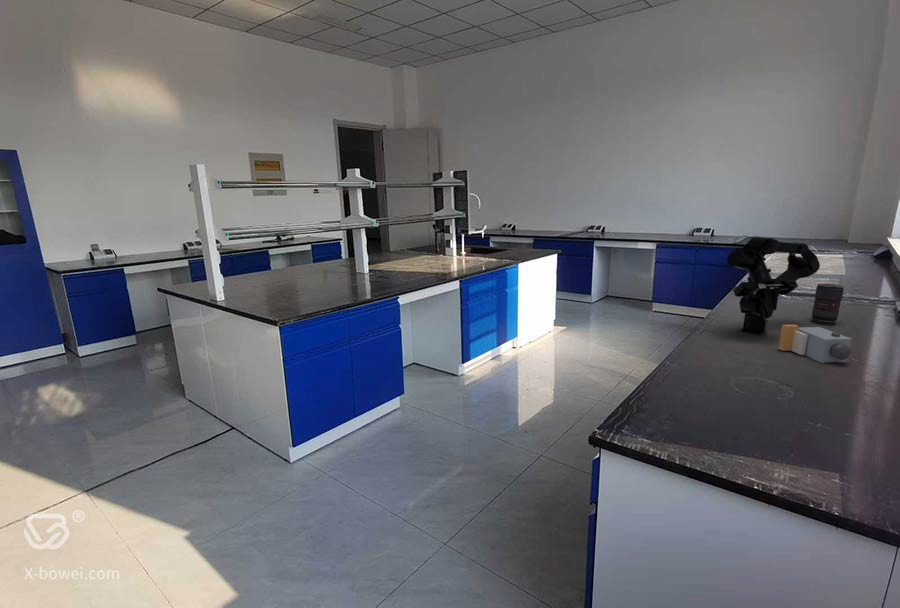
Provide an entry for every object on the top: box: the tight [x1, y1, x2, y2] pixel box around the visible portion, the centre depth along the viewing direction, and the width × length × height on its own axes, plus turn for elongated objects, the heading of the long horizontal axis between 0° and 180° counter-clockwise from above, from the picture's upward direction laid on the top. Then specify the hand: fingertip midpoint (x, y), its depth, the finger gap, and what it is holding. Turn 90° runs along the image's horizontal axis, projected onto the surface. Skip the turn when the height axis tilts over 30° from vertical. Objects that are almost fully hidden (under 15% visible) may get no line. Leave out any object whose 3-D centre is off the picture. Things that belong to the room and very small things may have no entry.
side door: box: [778, 324, 808, 356], centre depth 145 cm, size 6×4×8 cm, turn 1°
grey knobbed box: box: [798, 326, 853, 364], centre depth 141 cm, size 14×8×8 cm, turn 1°
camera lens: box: [811, 283, 845, 326], centre depth 174 cm, size 8×8×15 cm
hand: (774, 310), depth 152 cm, fingers closed
